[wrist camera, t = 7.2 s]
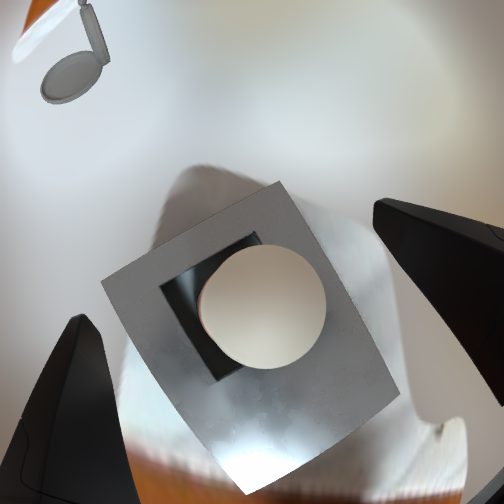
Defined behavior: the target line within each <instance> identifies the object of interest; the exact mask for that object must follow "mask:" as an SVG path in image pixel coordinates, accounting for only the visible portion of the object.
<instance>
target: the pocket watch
mask: <svg viewBox="0 0 504 504" xmlns="http://www.w3.org/2000/svg"><path fill="white" fill-rule="evenodd" d="M86 2H87V0H78V4H79V5H80V6H81V9H80V15H81V18H82V21H83V24H84V27H85V30H86V33H87V36H88V39H89V42H90V44H91V47H92V49H93V52H92V51H80V52H77V53H74V54H71V55H69V56H67V57H65V58H63V59H61V60H60V61H59V62H57V63H56V64H55V65H54V66H53V67H52V68H51V69H50V70H49V71H48V72H47V74H46V75H45V77H44V79H43V82H42V84H41V90H40V91H41V95H42V97H43V99H44V100H45V101H47V102H48V103H51V104H63V103H67V102H70V101H72V100H74V99H77V98H78V97H80V96H81V95H83V94H84V93H86V92H87V91H88V90H89V89H90V88H91V87H92V86H93V85H94V84H95V83H96V81H97V80H98V78H99V77H100V75H101V72H102V68H103V66H104V65H106V64H108V63H109V62H110V56H109V53H108V49H107V46H106V43H105V40H104V37H103V34H102V31H101V28H100V25H99V23H98V20H97V17H96V15H95V12H94V10H93V7H92V5H91V4H86Z"/></svg>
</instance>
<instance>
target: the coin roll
mask: <svg viewBox="0 0 504 504" xmlns="http://www.w3.org/2000/svg"><path fill="white" fill-rule="evenodd" d="M197 313H198V317H199V320H200V322H201V323H202V325H203V327H204V329H205V331H206V332H207V333H208V335H209V336H210V337H211V338H212V339H213V340H214V341H215V342H216V343H217V345H218V346H219V347H220V348H221V350H222V351H224V352H225V353H226V354H227V355H228V356H229V357H231V358H232V359H233V360H235V361H237V362H239V363H241V364H243V365H246V366H249V367H253V368H259V369H273V368H278V367H282V366H285V365H288V364H290V363H292V362H294V361H296V360H297V359H299V358H300V357H302V356H303V355H304V354H305V353H307V352H308V351H309V349H310V348H311V347H312V346H313V345H314V343H315V342H316V340H317V339H318V337H319V335H320V333H321V331H322V328H323V325H324V321H325V316H326V297H325V292H324V288H323V285H322V283H321V280H320V278H319V276H318V274H317V273H316V271H315V270H314V269H313V267H312V266H311V265H310V264H309V263H308V262H307V261H306V260H305V259H304V258H303V257H302V256H300V255H298V254H297V253H295V252H293V251H291V250H289V249H287V248H284V247H281V246H275V245H256V246H251V247H248V248H245V249H242V250H240V251H238V252H237V253H235V254H233V255H232V256H230V257H229V258H228V259H227V260H226V261H224V262H223V263H222V264H221V266H220V267H219V268H218V269H217V271H216V272H215V273H214V274H212V275H211V276H210V278H209V279H208V280H207V281H206V283H205V285H204V286H203V288H202V290H201V291H200V294H199V296H198V300H197Z"/></svg>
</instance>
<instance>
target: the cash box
mask: <svg viewBox="0 0 504 504" xmlns="http://www.w3.org/2000/svg"><path fill="white" fill-rule="evenodd" d="M252 233H254V235H255V237H256V238H257V240H258V242H259V243H260V245H275V246H281V247H284V248H287V249H289V250H291V251H293V252H295V253H297V254H298V255H300V256H302V257H303V258H304V259H305V260H306V261H307V262H308V263H309V264H310V265H311V266H312V267H313V269H314V270H315V271H316V273H317V274H318V276H319V278H320V280H321V283H322V285H323V288H324V292H325V297H326V316H325V321H324V325H323V328H322V331H321V333H320V335H319V337H318V339H317V340H316V342H315V343H314V345H313V346H312V347H311V348H310V349H309V351H308V352H307V353H305V354H304V355H303V356H302V357H300V358H299V359H297V360H296V361H294V362H292V363H290V364H288V365H285V366H282V367H278V368H273V369H259V368H253V367H249V366H246V365H241V366H240V367H238V368H236V369H234V370H233V371H231V372H229V373H228V374H226V375H224V376H222V377H220V378H219V379H216V378H215V376H214V375H213V373H212V372H211V370H210V369H209V367H208V366H207V364H206V363H205V361H204V360H203V358H202V357H201V355H200V353H199V352H198V350H197V349H196V347H195V345H194V344H193V342H192V341H191V339H190V337H189V336H188V334H187V332H186V331H185V329H184V328H183V326H182V324H181V322H180V321H179V319H178V317H177V316H176V314H175V312H174V311H173V309H172V307H171V305H170V304H169V302H168V300H167V298H166V297H165V295H164V293H163V291H162V290H161V288H160V286H162V285H164V284H165V283H167V282H169V281H170V280H172V279H174V278H176V277H177V276H179V275H181V274H182V273H184V272H186V271H188V270H189V269H191V268H193V267H195V266H196V265H198V264H200V263H201V262H203V261H205V260H207V259H208V258H210V257H212V256H214V255H215V254H217V253H219V252H221V251H222V250H224V249H226V248H228V247H229V246H231V245H233V244H235V243H236V242H238V241H240V240H242V239H243V238H245V237H247V236H249V235H250V234H252ZM101 284H102V286H103V288H104V290H105V292H106V294H107V296H108V298H109V300H110V302H111V304H112V305H113V307H114V309H115V311H116V313H117V315H118V317H119V319H120V320H121V322H122V324H123V326H124V328H125V330H126V331H127V333H128V335H129V337H130V338H131V340H132V342H133V344H134V345H135V347H136V349H137V350H138V352H139V354H140V355H141V357H142V359H143V360H144V362H145V363H146V365H147V367H148V368H149V370H150V371H151V373H152V375H153V376H154V378H155V379H156V381H157V382H158V384H159V385H160V387H161V388H162V390H163V391H164V393H165V394H166V396H167V397H168V398H169V400H170V401H171V403H172V404H173V406H174V407H175V408H176V410H177V411H178V413H179V414H180V415H181V417H182V418H183V419H184V421H185V422H186V423H187V425H188V426H189V427H190V429H191V430H192V431H193V433H194V434H195V435H196V437H197V438H198V439H199V440H200V442H201V443H202V444H203V445H204V447H205V448H206V449H207V450H208V452H209V453H210V454H211V455H212V456H213V458H214V459H215V460H216V461H217V462H218V463H219V465H220V466H221V467H222V468H223V469H224V470H225V472H226V473H227V474H228V475H229V476H230V477H231V478H232V479H233V480H234V482H235V483H236V484H237V485H238V486H239V487H240V488H241V489H242V490H243V491H244V492H245V493H246V494H249V493H251V492H253V491H255V490H257V489H259V488H261V487H263V486H265V485H267V484H269V483H271V482H273V481H275V480H277V479H279V478H280V477H282V476H284V475H286V474H288V473H289V472H291V471H293V470H295V469H296V468H298V467H300V466H302V465H303V464H305V463H307V462H308V461H310V460H312V459H313V458H315V457H316V456H318V455H320V454H321V453H323V452H324V451H326V450H327V449H329V448H330V447H332V446H333V445H335V444H336V443H338V442H339V441H341V440H342V439H343V438H345V437H346V436H348V435H349V434H351V433H352V432H353V431H355V430H356V429H357V428H359V427H360V426H361V425H363V424H364V423H365V422H367V421H368V420H369V419H371V418H372V417H373V416H374V415H376V414H377V413H378V412H379V411H381V410H382V409H383V408H384V407H385V406H387V405H388V404H389V403H390V402H391V401H393V400H394V399H395V398H396V397H397V396H398V395H400V392H399V390H398V388H397V386H396V384H395V382H394V380H393V378H392V376H391V374H390V372H389V370H388V368H387V366H386V364H385V362H384V360H383V358H382V356H381V354H380V352H379V350H378V348H377V347H376V345H375V343H374V341H373V339H372V337H371V335H370V333H369V331H368V329H367V328H366V326H365V324H364V322H363V320H362V318H361V316H360V315H359V313H358V311H357V309H356V307H355V305H354V304H353V302H352V300H351V298H350V296H349V295H348V293H347V291H346V289H345V288H344V286H343V284H342V282H341V281H340V279H339V277H338V275H337V274H336V272H335V270H334V268H333V267H332V265H331V263H330V262H329V260H328V258H327V256H326V255H325V253H324V251H323V250H322V248H321V246H320V245H319V243H318V241H317V240H316V238H315V236H314V235H313V233H312V231H311V230H310V228H309V227H308V225H307V223H306V222H305V220H304V218H303V217H302V215H301V214H300V212H299V210H298V209H297V207H296V206H295V204H294V202H293V201H292V199H291V198H290V196H289V195H288V193H287V191H286V190H285V188H284V187H283V185H282V184H281V182H280V181H278V182H276V183H274V184H272V185H270V186H268V187H266V188H264V189H262V190H260V191H258V192H256V193H254V194H253V195H251V196H249V197H247V198H245V199H243V200H241V201H239V202H237V203H236V204H234V205H232V206H230V207H228V208H226V209H224V210H223V211H221V212H219V213H217V214H215V215H213V216H212V217H210V218H208V219H206V220H204V221H203V222H201V223H199V224H197V225H195V226H194V227H192V228H190V229H188V230H186V231H185V232H183V233H181V234H179V235H178V236H176V237H174V238H172V239H171V240H169V241H167V242H166V243H164V244H162V245H160V246H159V247H157V248H155V249H153V250H152V251H150V252H148V253H147V254H145V255H143V256H142V257H140V258H138V259H137V260H135V261H133V262H132V263H130V264H128V265H127V266H125V267H123V268H122V269H120V270H118V271H117V272H115V273H114V274H112V275H110V276H109V277H107V278H105V279H104V280H102V281H101Z"/></svg>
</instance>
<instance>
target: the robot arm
mask: <svg viewBox="0 0 504 504" xmlns="http://www.w3.org/2000/svg"><path fill="white" fill-rule="evenodd" d="M373 228H374V230H375V232H376V233H377V234H378V236H379V237H380V238H381V240H382V241H383V242H384V244H385V245H386V247H387V248H388V249H389V251H390V252H391V254H392V255H393V256H394V258H395V259H396V261H397V262H398V264H399V265H400V266H401V267H402V269H403V270H404V271H405V272H406V273H407V275H408V276H409V277H410V278H411V280H412V281H413V282H414V283H415V284H416V286H417V287H418V288H419V289H420V291H421V292H422V293H423V294H424V296H425V297H426V298H427V299H428V301H429V302H430V303H431V305H432V306H433V307H434V308H435V310H436V311H437V312H438V314H439V315H440V316H441V318H442V319H443V320H444V322H445V323H446V324H447V326H448V327H449V328H450V330H451V331H452V332H453V334H454V335H455V336H456V338H457V339H458V341H459V342H460V344H461V345H462V346H463V348H464V349H465V351H466V352H467V354H468V355H469V357H470V358H471V359H472V361H473V363H474V364H475V366H476V367H477V369H478V371H479V372H480V374H481V375H482V377H483V378H484V380H485V381H486V383H487V384H488V386H489V388H490V389H491V391H492V393H493V394H494V396H495V398H496V399H497V401H498V403H499V404H500V405H501V406H502V407H503V406H504V229H503V228H500V227H496V226H493V225H490V224H485V223H482V222H480V221H476V220H472V219H469V218H466V217H462V216H458V215H455V214H451V213H448V212H444V211H440V210H436V209H432V208H428V207H424V206H420V205H416V204H412V203H408V202H403V201H399V200H395V199H390V198H383V199H380V200H377V201H376V202H375V203H374V207H373ZM21 417H22V419H20V420H19V423H18V426H17V428H16V430H15V432H14V435H13V437H12V440H11V442H10V445H9V447H8V449H7V452H6V454H5V456H4V459H3V461H2V463H1V465H0V504H141V503H140V499H139V496H138V493H137V490H136V487H135V483H134V480H133V476H132V473H131V469H130V465H129V462H128V458H127V454H126V450H125V445H124V441H123V437H122V432H121V427H120V422H119V417H118V412H117V406H116V401H115V395H114V389H113V384H112V380H111V375H110V372H109V367H108V363H107V359H106V355H105V350H104V346H103V341H102V337H101V334H100V332H99V331H98V330H97V328H96V327H95V326H94V325H93V323H92V322H91V321H90V320H89V319H88V317H87V316H86V315H85V314H79V315H76V316H74V317H72V318H71V319H70V320H69V322H68V324H67V326H66V328H65V329H64V331H63V333H62V335H61V336H60V338H59V340H58V342H57V344H56V346H55V347H54V349H53V351H52V353H51V355H50V357H49V359H48V361H47V362H46V364H45V367H44V368H43V370H42V372H41V374H40V376H39V378H38V380H37V383H36V385H35V387H34V389H33V391H32V393H31V395H30V397H29V400H28V402H27V404H26V406H25V409H24V411H23V413H22V416H21ZM467 504H504V467H503V469H502V470H501V471H500V472H499V473H498V474H497V475H496V476H495V477H494V478H493V479H492V480H491V482H489V483H488V484H487V485H486V486H485V487H484V488H483V489H482V490H481V491H480V492H479V493H478V494H477V495H476V496H475V497H474V498H473V499H471V500H470V501H469V502H468V503H467Z"/></svg>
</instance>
